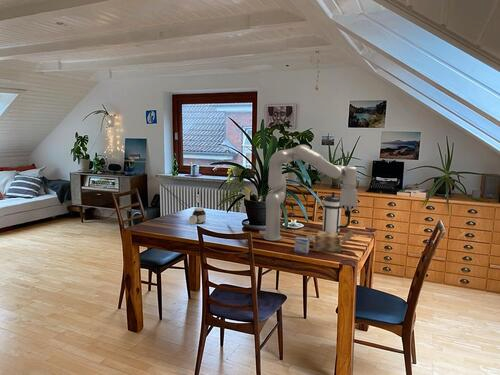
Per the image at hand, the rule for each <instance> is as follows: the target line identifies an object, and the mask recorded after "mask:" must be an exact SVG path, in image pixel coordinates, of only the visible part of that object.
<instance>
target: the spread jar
mask: <svg viewBox="0 0 500 375" xmlns="http://www.w3.org/2000/svg"><path fill="white" fill-rule="evenodd" d="M206 216H207V213H206V211H205V208H204V207H201V206H198V207H197V206H196V207H194V211H193V212H192V215H190V216H189V218H188V223H189V225H192V226H193V225H195V224H196V225H203V224H204V223H205V222H206V218H207V217H206Z"/></svg>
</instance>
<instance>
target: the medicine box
mask: <svg viewBox="0 0 500 375" xmlns="http://www.w3.org/2000/svg"><path fill="white" fill-rule="evenodd" d="M293 251H294V253H296V254H297V253H298V254H305V255H308V253H309V251H310V240H309V238H306V237H301V236H296V237H295V238H294V250H293Z"/></svg>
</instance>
